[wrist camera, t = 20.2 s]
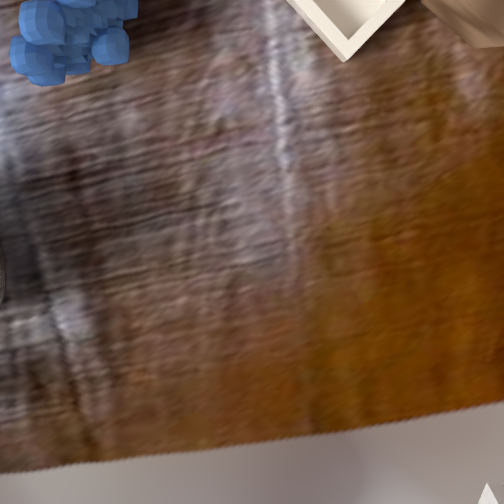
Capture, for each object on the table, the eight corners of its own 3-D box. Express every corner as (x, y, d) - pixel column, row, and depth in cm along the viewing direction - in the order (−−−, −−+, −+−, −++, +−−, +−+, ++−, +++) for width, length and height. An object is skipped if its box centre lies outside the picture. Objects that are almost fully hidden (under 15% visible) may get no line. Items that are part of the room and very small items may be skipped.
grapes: (109, 119, 42) (44, 126, 31) (48, 65, 41) (-43, 51, 29) (191, 12, 39) (154, -25, 27) (128, -50, 38) (61, -115, 26)
